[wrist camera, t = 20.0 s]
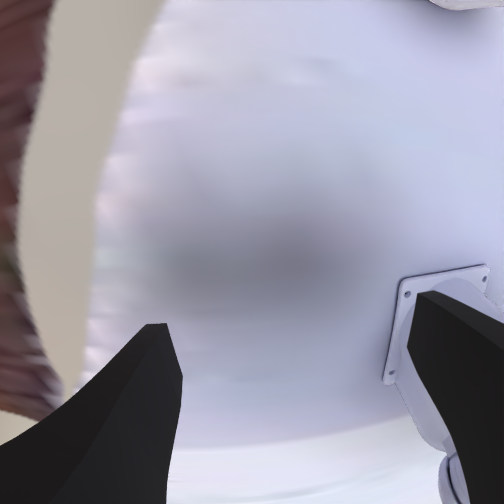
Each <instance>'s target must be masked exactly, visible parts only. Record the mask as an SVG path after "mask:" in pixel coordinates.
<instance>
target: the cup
mask: <svg viewBox="0 0 504 504" xmlns="http://www.w3.org/2000/svg"><path fill="white" fill-rule="evenodd" d="M429 1H430V2H432V3H434V4H436V5H438V6H440V7H443V8H446V9H449V10H466V9H476V8H488V7H504V0H429Z"/></svg>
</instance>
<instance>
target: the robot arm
mask: <svg viewBox="0 0 504 504" xmlns="http://www.w3.org/2000/svg"><path fill="white" fill-rule="evenodd" d="M489 274H490V268H489V267H488V266H487V265H481V266H475V267H470V268H464V269H459V270H453V271H447V272H442V273H436V274H430V275H424V276H417V277H411V278H406V279H404V280H403V281H402V282H401V284H400V288H399V295H398V302H397V308H396V315H395V321H394V327H393V332H392V338H391V343H390V348H389V353H388V358H387V363H386V367H385V372H384V376H383V383H384V384H385V385H391V384H396V386H397V388H398V390H399V392H400V394H401V396H402V398H403V400H404V402H405V404H406V406H407V408H408V410H409V412H410V414H411V416H412V418H413V420H414V423H415V425H416V427H417V429H418V431H419V433H420V435H421V436H422V438H423V439H424V440H425V441H426V442H427V443H428V444H429V445H431V446H432V447H434V448H435V449H438V450H440V451H443V452H446V453H447V456H445V458H444V459H443V460H442V462H441V464H440V467H439V476H438V477H439V479H438V488H439V494H440V497H441V500H442V503H443V504H504V312H503V311H501V310H500V309H499V308H498V307H497V306H496V305H495V304H494V303H493V302H492V301H491V300H490V299H489V298H487V297H486V296H485V291H486V287H487V283H488V279H489ZM406 291H408V293H407V294H405V292H406ZM404 294H405V295H404ZM182 380H183V375H182V372H181V369H180V366H179V363H178V360H177V356H176V353H175V350H174V347H173V343H172V340H171V337H170V333H169V330H168V326H167V323H161V324H146V325H145V326H144V327H143V328H142V329H141V330H140V331H139V332H138V333H137V334H136V335H135V336H134V337H133V338H132V339H131V340H130V341H129V342H128V343H127V344H126V345H125V346H124V347H123V348H122V349H121V350H120V351H119V352H118V353H117V354H116V355H115V356H114V357H113V358H112V360H111V361H110V362H109V363H108V364H107V365H106V366H105V367H104V368H103V369H102V370H101V371H100V372H99V373H97V374H96V375H95V376H94V377H93V378H92V379H91V380H90V381H89V382H88V383H87V384H86V385H85V386H84V387H83V388H81V389H80V390H79V391H78V392H77V393H76V394H75V395H74V396H73V397H71V398H70V399H69V400H68V401H67V402H65V403H64V404H63V405H62V406H60V407H59V408H58V409H57V410H55V411H54V412H53V413H51V414H50V415H49V416H47V417H46V418H45V419H43V420H42V421H40V422H39V423H37V424H36V425H34V426H32V427H31V428H29V429H28V430H26V431H25V432H23V433H22V434H20V435H19V436H17V437H15V438H13V439H12V440H10V441H8V442H6V443H4V444H2V445H1V446H0V504H166V495H167V480H168V472H169V466H170V460H171V455H172V450H173V444H174V439H175V434H176V429H177V424H178V418H179V413H180V408H181V397H182Z"/></svg>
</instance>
